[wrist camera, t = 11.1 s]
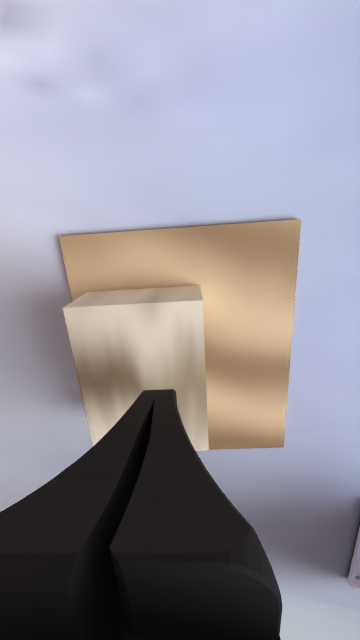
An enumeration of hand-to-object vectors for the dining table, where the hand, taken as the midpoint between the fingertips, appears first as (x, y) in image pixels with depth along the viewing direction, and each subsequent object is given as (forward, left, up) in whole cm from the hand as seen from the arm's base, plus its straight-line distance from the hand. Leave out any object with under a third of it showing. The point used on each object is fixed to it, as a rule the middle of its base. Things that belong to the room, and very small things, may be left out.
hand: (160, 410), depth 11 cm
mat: (0, -1, -5) cm, 5 cm away
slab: (0, -2, -3) cm, 4 cm away
